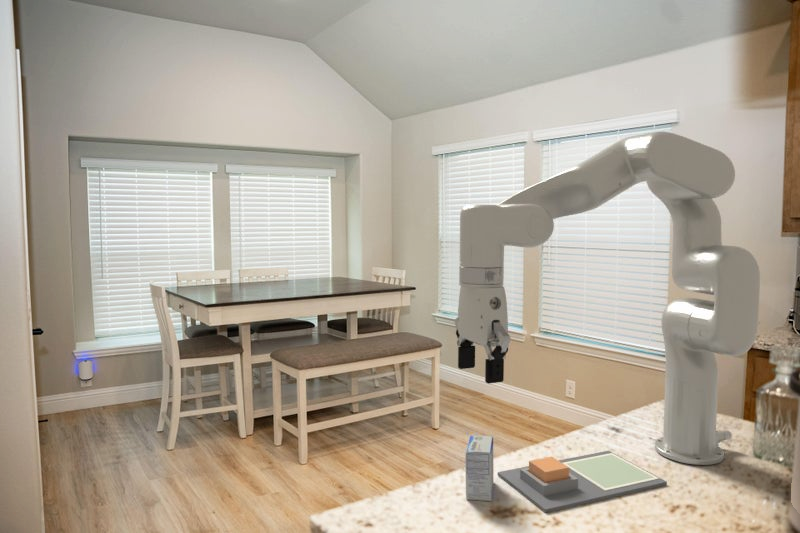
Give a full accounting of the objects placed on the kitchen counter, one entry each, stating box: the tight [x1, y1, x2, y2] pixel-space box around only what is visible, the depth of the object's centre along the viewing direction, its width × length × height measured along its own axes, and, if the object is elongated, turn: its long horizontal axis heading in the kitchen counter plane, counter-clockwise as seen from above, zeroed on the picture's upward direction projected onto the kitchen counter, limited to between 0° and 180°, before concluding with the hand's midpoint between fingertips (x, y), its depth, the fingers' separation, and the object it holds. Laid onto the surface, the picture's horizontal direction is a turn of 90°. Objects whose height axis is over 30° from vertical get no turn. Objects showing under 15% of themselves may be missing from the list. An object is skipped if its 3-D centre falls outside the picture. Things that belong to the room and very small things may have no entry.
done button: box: [528, 456, 569, 483], centre depth 105 cm, size 5×5×2 cm
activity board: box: [497, 450, 668, 514], centre depth 108 cm, size 26×15×2 cm, turn 111°
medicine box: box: [464, 435, 494, 502], centre depth 104 cm, size 8×4×9 cm, turn 168°
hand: (479, 374), depth 102 cm, fingers open, 9 cm apart
